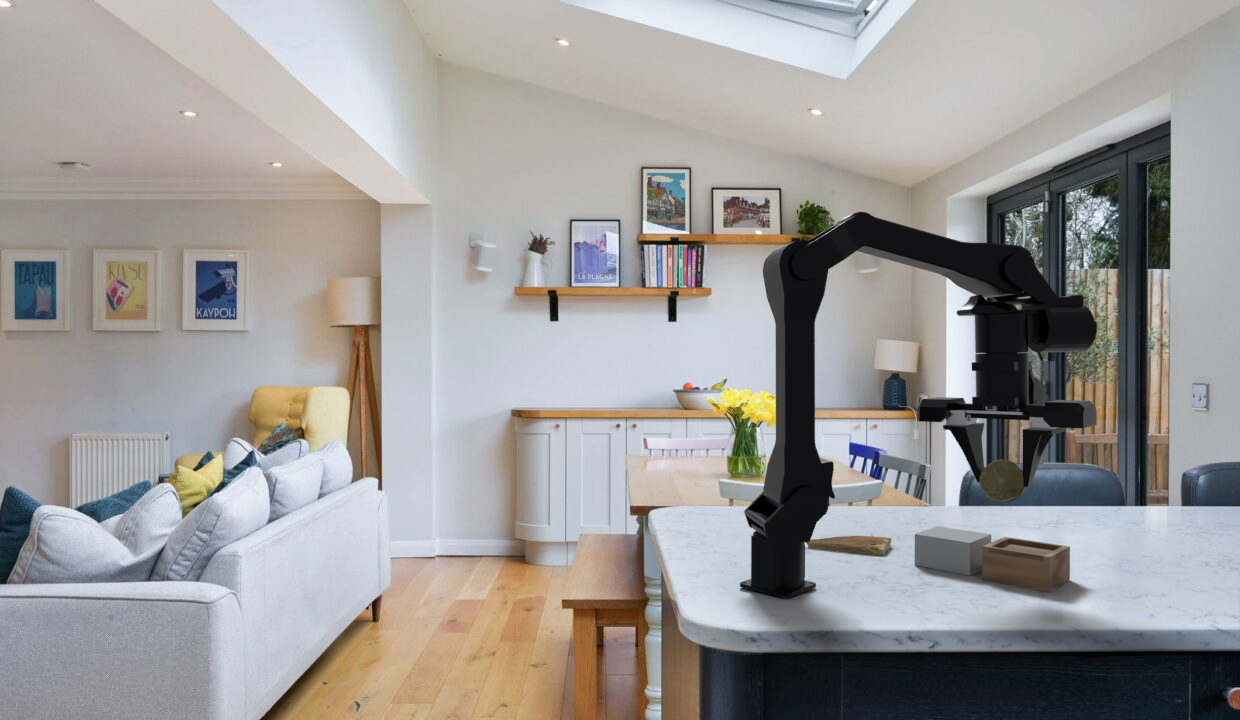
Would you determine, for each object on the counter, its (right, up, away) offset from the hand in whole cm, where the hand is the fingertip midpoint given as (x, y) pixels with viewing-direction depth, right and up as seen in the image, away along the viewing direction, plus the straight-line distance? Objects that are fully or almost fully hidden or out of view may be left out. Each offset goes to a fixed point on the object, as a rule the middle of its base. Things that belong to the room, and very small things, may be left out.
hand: (1003, 484), depth 97 cm
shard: (-13, -12, +16) cm, 24 cm away
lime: (0, -2, 0) cm, 2 cm away
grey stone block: (-3, -12, +8) cm, 14 cm away
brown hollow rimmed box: (+3, -12, +1) cm, 12 cm away
